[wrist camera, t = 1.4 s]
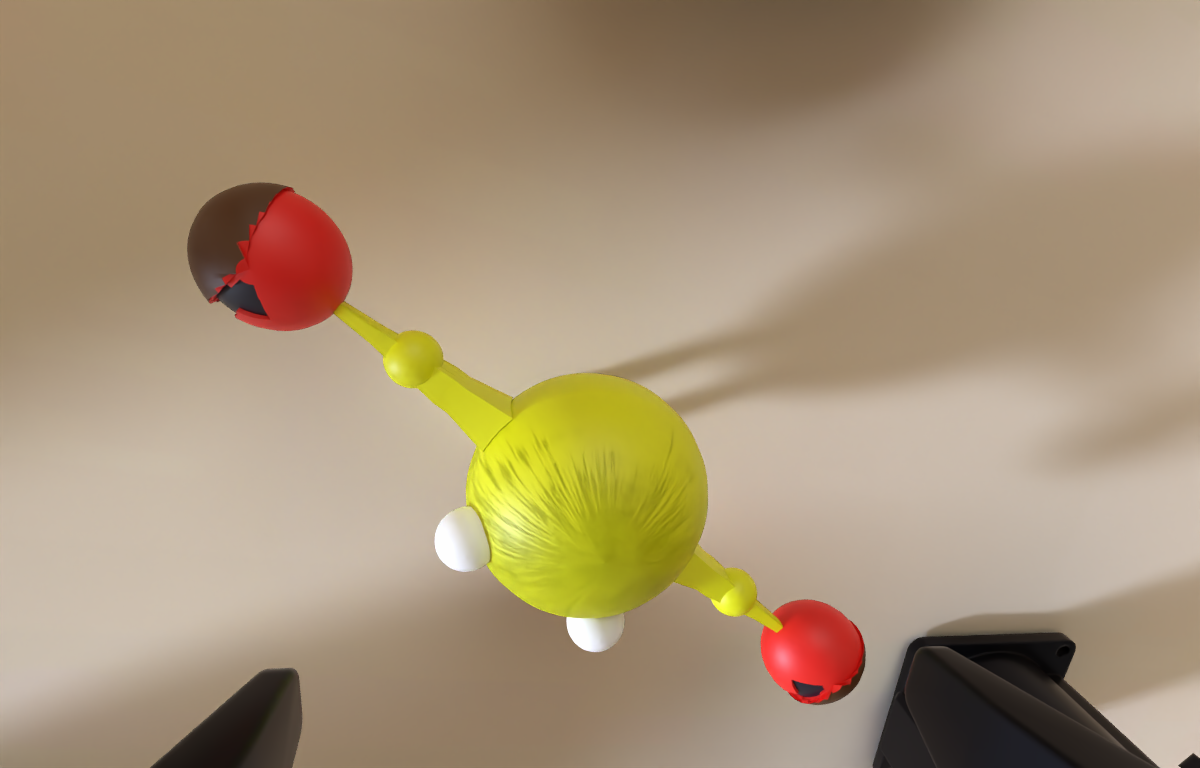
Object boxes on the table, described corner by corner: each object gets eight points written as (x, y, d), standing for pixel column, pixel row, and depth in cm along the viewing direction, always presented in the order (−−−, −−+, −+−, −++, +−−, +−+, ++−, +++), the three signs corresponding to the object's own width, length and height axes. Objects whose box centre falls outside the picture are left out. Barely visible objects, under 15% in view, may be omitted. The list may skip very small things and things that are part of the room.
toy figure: (215, 294, 15) (2, 385, 9) (349, 112, 14) (222, 67, 8) (714, 636, 21) (805, 840, 14) (832, 521, 20) (984, 686, 14)
